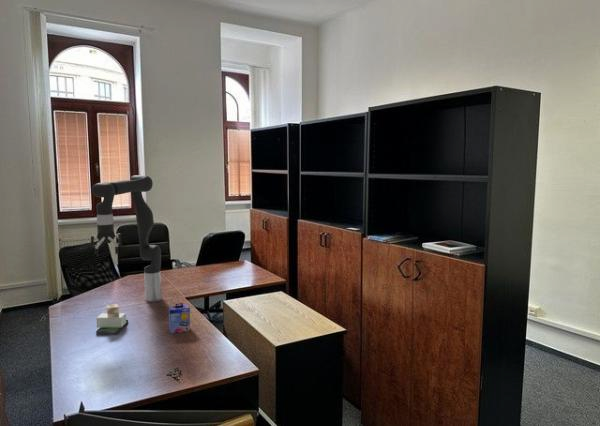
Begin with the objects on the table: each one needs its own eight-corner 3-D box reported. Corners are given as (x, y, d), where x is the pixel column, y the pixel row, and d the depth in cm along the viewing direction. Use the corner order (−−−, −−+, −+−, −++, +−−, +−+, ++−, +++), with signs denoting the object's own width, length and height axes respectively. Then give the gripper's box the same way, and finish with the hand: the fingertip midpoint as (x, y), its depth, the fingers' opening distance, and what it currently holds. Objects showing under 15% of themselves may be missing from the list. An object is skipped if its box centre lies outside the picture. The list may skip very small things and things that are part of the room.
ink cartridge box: (170, 334, 206) (169, 305, 204) (168, 330, 211) (167, 301, 209) (190, 331, 210) (189, 302, 208) (189, 326, 215) (188, 299, 213)
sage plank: (126, 322, 215) (125, 313, 214) (121, 327, 209) (121, 317, 208) (102, 322, 215) (101, 313, 214) (96, 327, 209) (96, 317, 208)
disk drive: (108, 325, 219) (96, 336, 204) (107, 319, 219) (95, 331, 204) (128, 324, 220) (118, 336, 205) (128, 319, 219) (117, 330, 204)
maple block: (118, 313, 214) (117, 303, 213) (119, 316, 210) (118, 306, 209) (107, 314, 212) (106, 305, 211) (107, 318, 207) (107, 308, 207)
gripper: (89, 225, 205) (91, 258, 207) (121, 223, 212) (123, 254, 214) (89, 223, 212) (91, 254, 214) (119, 221, 218) (121, 251, 221)
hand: (107, 254), depth 214 cm, fingers open, 8 cm apart
